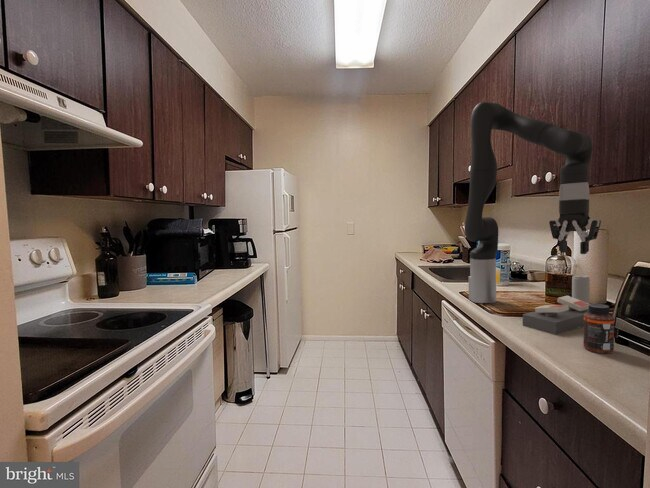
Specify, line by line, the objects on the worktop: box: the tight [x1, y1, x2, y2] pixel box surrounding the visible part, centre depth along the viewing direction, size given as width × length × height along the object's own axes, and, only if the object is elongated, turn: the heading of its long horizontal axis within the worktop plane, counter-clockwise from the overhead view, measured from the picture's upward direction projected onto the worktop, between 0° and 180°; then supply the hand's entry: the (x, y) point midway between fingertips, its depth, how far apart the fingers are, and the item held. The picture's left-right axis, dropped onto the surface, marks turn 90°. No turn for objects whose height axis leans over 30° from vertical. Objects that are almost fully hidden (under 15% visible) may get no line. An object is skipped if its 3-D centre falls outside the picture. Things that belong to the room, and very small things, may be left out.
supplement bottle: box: [583, 303, 615, 355], centre depth 84 cm, size 6×6×11 cm
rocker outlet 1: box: [534, 304, 569, 312], centre depth 103 cm, size 7×5×2 cm
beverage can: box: [571, 274, 591, 304], centre depth 116 cm, size 5×5×12 cm
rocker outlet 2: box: [556, 294, 590, 311], centre depth 107 cm, size 7×5×2 cm
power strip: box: [522, 304, 589, 336], centre depth 105 cm, size 10×22×4 cm, turn 114°
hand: (573, 252), depth 106 cm, fingers open, 5 cm apart
